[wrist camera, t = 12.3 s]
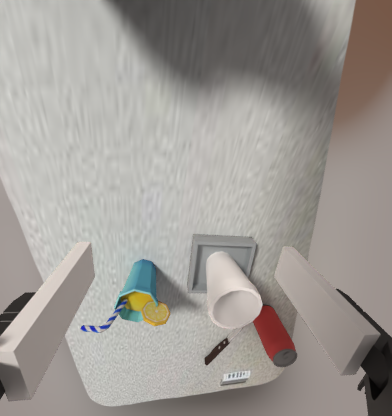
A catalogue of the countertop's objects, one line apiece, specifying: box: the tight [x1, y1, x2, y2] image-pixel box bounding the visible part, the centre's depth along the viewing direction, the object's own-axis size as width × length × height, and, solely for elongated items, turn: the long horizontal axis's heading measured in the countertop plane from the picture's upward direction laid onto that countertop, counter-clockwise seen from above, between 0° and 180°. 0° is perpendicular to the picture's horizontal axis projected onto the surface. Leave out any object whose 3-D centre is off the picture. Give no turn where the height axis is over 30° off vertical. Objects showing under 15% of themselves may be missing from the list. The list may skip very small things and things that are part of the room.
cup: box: [81, 259, 170, 333], centre depth 38 cm, size 14×8×15 cm, turn 89°
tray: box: [187, 234, 257, 293], centre depth 46 cm, size 14×14×3 cm
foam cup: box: [206, 251, 263, 329], centre depth 40 cm, size 10×9×13 cm
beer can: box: [253, 305, 297, 367], centre depth 49 cm, size 7×7×12 cm
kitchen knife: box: [205, 327, 243, 365], centre depth 56 cm, size 18×1×2 cm, turn 143°
